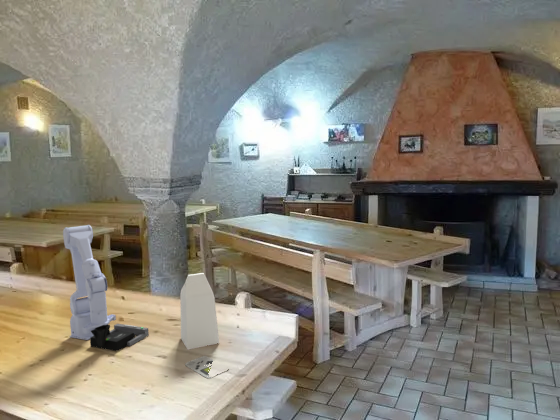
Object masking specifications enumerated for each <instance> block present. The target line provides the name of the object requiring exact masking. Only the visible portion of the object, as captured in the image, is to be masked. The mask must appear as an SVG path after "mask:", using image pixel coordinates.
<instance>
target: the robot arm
mask: <svg viewBox="0 0 560 420" xmlns="http://www.w3.org/2000/svg"><path fill="white" fill-rule="evenodd" d="M62 237H63V244H64V248H65V249H67V250H69V251H70V254H71V260H72V267H73V273H74V283H75V288H76V289H75V291H74V292H73V293H72V294H71V295H70V298H69V307H70V312H71V317H70V320H69V324H70V335H69V338H73V339H79V340H84V341H90V337H92V336H94V337H95V339H96V341H97V344H98V346H104V345H105V341H106V336H107V333H108V331H109V330H110V329H111V325H110V323H111V322H112V321H113V322H114V321H115V320H117V318H116V317H117V316H116V314H113V313H112V314H109V315H108V307H107V295H106V294H107V293H106V292H107V291H108V281H107V277H106V276H105V274H104V273H102V271H101V268H100V264H99V262H98V260H97V259H95V258H94V255H93V251H92V247H91V244H92V242H93V237H94V232H93V227H92V226H91V225H90V224H87V225H79V226H71V227H64V228H63V230H62Z"/></svg>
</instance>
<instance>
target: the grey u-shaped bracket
mask: <svg viewBox="0 0 560 420" xmlns="http://www.w3.org/2000/svg"><path fill="white" fill-rule="evenodd" d="M120 331H127V332H134V336H135V338H133V339H132V340H130V341H128V342H127V346H126V347H132V346H133V345H134V344H137V343H138V342H140V341H142V340H143V339H145V338H146V337H148V336H149V335H150V334H149V327H143V326H137V325H131V324H124V323H123V324H122V323H116V324H114V325H113V329H112V330H110V334H112V335H113V334H115V333H117V332H120Z"/></svg>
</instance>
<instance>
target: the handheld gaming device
mask: <svg viewBox="0 0 560 420" xmlns="http://www.w3.org/2000/svg"><path fill="white" fill-rule="evenodd" d="M213 360H214V359H213V358H210V357H208V356H207V355H202V356H200V357H197V358H195V359H192V360H189V361H186V362H184V363H185V364H184V365H185V367H186V368H188V369H191V370H192V371H193V372H195V373H197V374H199V375H200V374H201V375H200V376H202V377H204V378H205V377H206V379H207V378H210V379H212V378H211V377H209V374H208V373H209V371H210V369H211V368H210V369H209V367H211V366H212V365H211V366H209V367H207V366H208V365H209V363H210V364H212V362H213ZM204 365H205V366H204ZM206 365H207V366H206ZM208 370H209V371H208ZM207 376H208V377H207Z"/></svg>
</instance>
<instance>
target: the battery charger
mask: <svg viewBox="0 0 560 420" xmlns="http://www.w3.org/2000/svg"><path fill="white" fill-rule="evenodd" d="M110 331H111V330H110V329H109V331H108V333H107V336H106V341H105V345H104V346H98V344H97V341H96V339H95V337H94V336H92V337H90V339H89V341H90V342H89V343H90V344H89V345H90V347H91V348H95V349H100V350H101V349H102V350H108V351H114V352H118V351H120V350H122V349H124V348H126V347H128V346H127V342H128V341H130V340H132V339H133V338H135V337H136V336H134V332H127V331H120V332H117V333H115V334H113V335H112V334H110Z"/></svg>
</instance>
